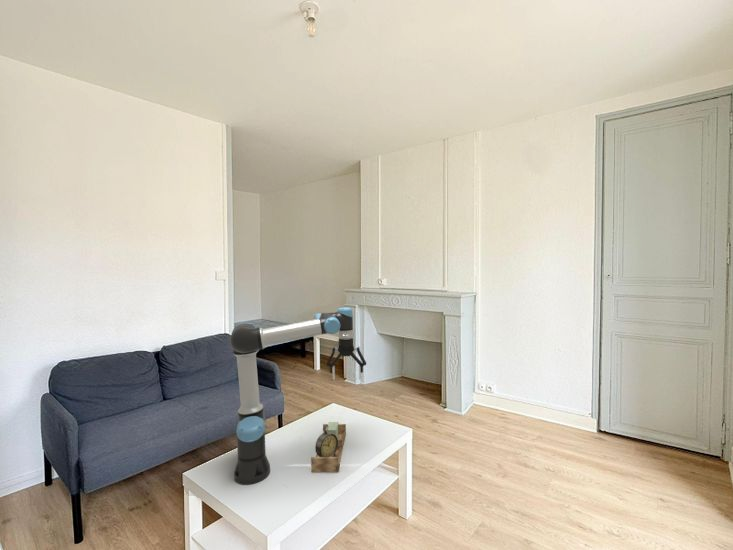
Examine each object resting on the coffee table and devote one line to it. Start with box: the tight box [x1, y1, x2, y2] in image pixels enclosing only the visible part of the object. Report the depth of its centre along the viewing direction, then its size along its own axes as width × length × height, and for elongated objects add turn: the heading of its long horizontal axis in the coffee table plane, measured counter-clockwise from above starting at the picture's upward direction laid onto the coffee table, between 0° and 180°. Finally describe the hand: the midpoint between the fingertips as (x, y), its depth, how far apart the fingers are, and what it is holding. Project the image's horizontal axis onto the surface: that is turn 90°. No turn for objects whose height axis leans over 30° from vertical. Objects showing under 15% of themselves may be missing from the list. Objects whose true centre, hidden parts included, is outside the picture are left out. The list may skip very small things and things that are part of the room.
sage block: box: [326, 421, 339, 439], centre depth 179 cm, size 5×9×8 cm, turn 178°
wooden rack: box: [310, 423, 347, 473], centre depth 171 cm, size 12×33×6 cm, turn 178°
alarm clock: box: [314, 423, 338, 457], centre depth 163 cm, size 11×5×16 cm, turn 138°
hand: (346, 379), depth 180 cm, fingers open, 13 cm apart
